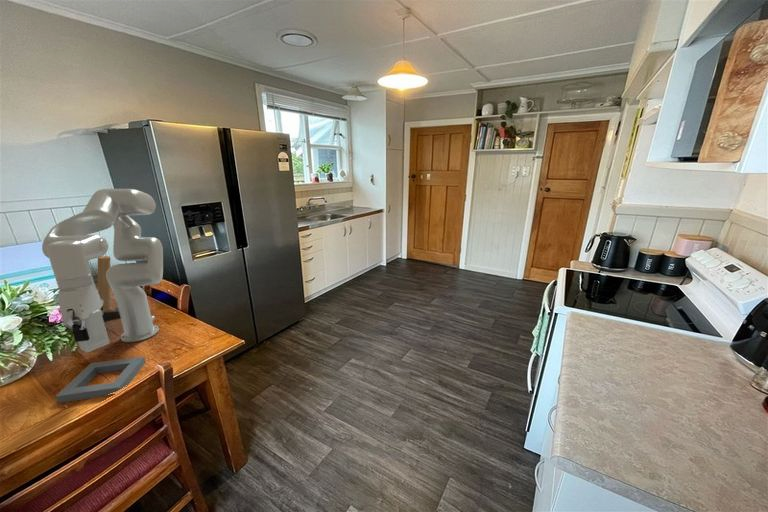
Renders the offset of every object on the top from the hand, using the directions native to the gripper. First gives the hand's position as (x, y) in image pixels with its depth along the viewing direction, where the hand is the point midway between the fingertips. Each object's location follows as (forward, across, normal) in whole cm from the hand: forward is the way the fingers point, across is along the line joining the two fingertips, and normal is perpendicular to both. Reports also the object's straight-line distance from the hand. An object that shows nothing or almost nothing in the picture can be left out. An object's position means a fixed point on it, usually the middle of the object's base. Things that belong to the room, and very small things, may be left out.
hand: (91, 333), depth 92 cm
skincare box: (+5, 0, 0) cm, 5 cm away
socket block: (+18, 0, 0) cm, 18 cm away
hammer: (+18, -50, -25) cm, 59 cm away
